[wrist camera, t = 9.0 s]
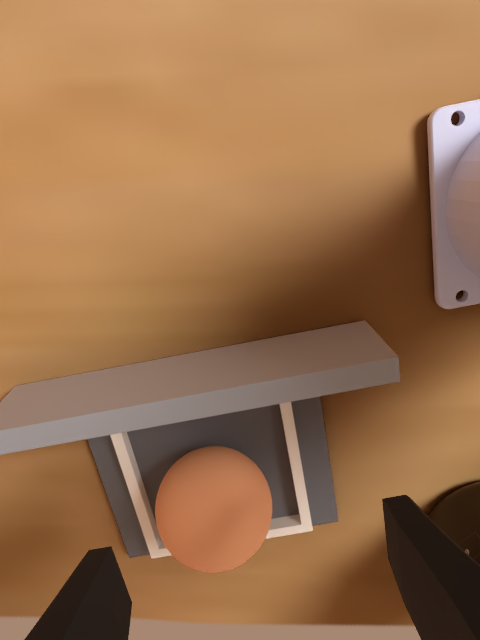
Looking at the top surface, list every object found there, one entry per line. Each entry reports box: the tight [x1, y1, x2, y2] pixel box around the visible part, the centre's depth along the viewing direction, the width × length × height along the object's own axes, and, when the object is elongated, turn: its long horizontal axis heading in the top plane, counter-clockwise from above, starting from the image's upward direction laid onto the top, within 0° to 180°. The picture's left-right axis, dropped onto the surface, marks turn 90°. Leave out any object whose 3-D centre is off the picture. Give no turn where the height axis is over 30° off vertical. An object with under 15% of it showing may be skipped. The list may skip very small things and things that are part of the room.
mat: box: [87, 396, 338, 559], centre depth 21 cm, size 11×9×1 cm
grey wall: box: [0, 320, 401, 455], centre depth 18 cm, size 16×1×4 cm, turn 101°
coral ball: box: [155, 446, 272, 573], centre depth 19 cm, size 5×5×5 cm
